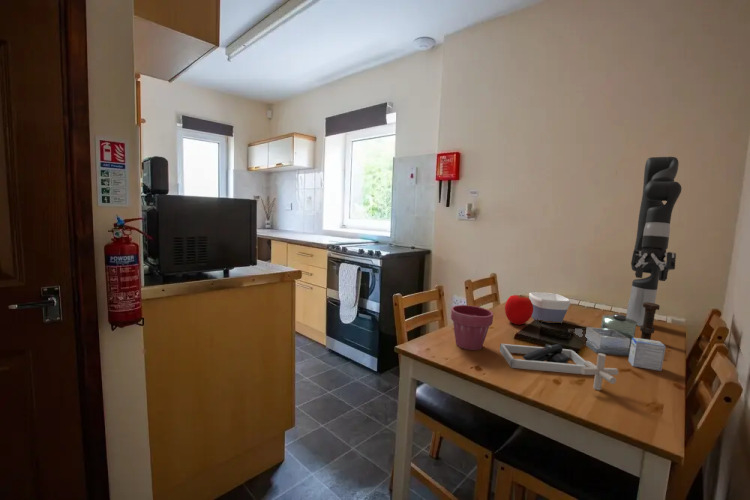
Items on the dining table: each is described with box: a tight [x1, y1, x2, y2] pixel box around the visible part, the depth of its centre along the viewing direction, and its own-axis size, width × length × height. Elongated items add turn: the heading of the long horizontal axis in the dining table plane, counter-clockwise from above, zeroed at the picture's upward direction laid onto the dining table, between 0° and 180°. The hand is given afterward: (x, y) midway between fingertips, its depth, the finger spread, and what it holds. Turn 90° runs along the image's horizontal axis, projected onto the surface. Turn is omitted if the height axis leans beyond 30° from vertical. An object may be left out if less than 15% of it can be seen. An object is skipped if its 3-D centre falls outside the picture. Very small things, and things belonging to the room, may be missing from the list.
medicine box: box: [628, 337, 666, 372], centre depth 114 cm, size 8×4×9 cm, turn 71°
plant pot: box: [450, 304, 494, 351], centre depth 123 cm, size 14×14×13 cm
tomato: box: [504, 294, 533, 326], centre depth 150 cm, size 11×11×13 cm
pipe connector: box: [580, 353, 619, 391], centre depth 97 cm, size 10×10×10 cm
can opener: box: [522, 343, 570, 364], centre depth 112 cm, size 18×7×6 cm, turn 113°
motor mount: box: [574, 313, 637, 357], centre depth 133 cm, size 22×22×10 cm
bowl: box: [528, 291, 571, 324], centre depth 158 cm, size 15×15×11 cm
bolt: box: [639, 302, 660, 340], centre depth 139 cm, size 6×5×15 cm
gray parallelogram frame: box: [499, 343, 588, 376], centre depth 113 cm, size 13×24×2 cm, turn 85°
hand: (649, 279), depth 129 cm, fingers open, 8 cm apart
